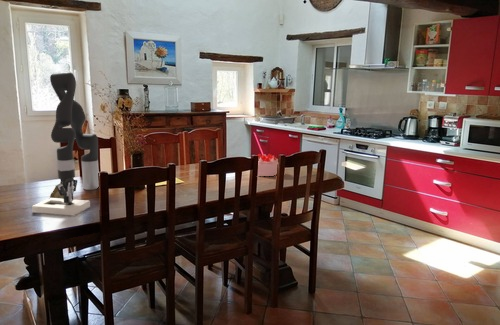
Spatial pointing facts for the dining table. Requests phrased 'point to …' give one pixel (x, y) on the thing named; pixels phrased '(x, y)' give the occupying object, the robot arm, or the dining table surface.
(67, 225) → the dining table surface
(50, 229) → the dining table surface
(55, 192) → the rock
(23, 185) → the dining table surface
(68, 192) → the bolt
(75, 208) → the keyhole board
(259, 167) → the cake
